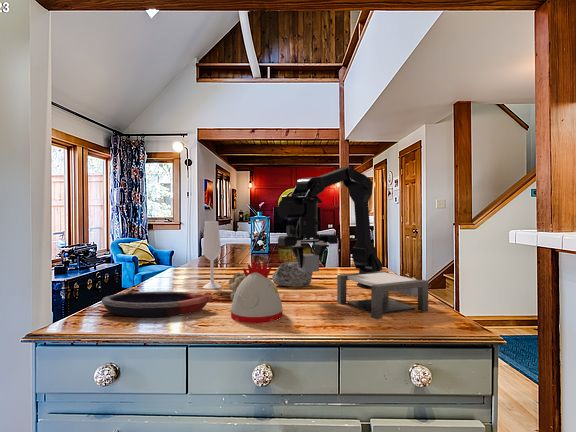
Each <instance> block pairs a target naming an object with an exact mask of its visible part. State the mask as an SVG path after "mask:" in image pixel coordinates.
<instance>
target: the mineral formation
mask: <svg viewBox="0 0 576 432" xmlns="http://www.w3.org/2000/svg"><path fill="white" fill-rule="evenodd" d="M245 277H246V276H245V274H244V272H239V271H237V272H235V273H234V275H233V276H232V278H229V280H228V284H229V287H228V290H230V291H232V292H231V293H230V299H231V301H232V302H233V298H234V295H235V292H236V290H237V288H238V286H239V284H240V283H241V282H242V280H243V279H244V278H245Z"/></svg>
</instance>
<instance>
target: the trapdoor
mask: <svg viewBox="0 0 576 432" xmlns="http://www.w3.org/2000/svg"><path fill="white" fill-rule="evenodd" d="M347 279H349V280H348V281H353V282H356V283H357V284H358V283H362V284H365V285H368V286H371V285H379V284H388V283H398V282H407V281H416V280H417V279H415V278H411V277H406V276H401V275H398V274H393V273H390V272H389V273H385V272H383V273H373V274H362V275H351V276H347ZM393 291H394V292H396V293H400V294H403V295H407V296H410V297H416V296H418V288H410V289H401V290H393ZM393 291H392V292H393Z"/></svg>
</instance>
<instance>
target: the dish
mask: <svg viewBox="0 0 576 432" xmlns="http://www.w3.org/2000/svg"><path fill="white" fill-rule="evenodd" d="M212 301H213V296H212V295H211V294H204V293H199V292H189V291H133V290H128V291H126V292H124V293H117V294H112V295H108V296H105V297H103V298H102V299H101V303H102V304H103V306H104V309H105V310H107V311H108V312H109V313H110V314H115V315H118V316H124V317H125V316H126V317H134V318H135V317H137V318H139V317H140V318H158V317H159V318H163V317H176V316H182V315H183V316H184V315H187V314H192V313H195V312H198V311H200V310H202V309H203V308H205V307H206V305H207V304H208V302H209V303H211V302H212Z"/></svg>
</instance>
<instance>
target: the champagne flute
mask: <svg viewBox="0 0 576 432" xmlns="http://www.w3.org/2000/svg"><path fill="white" fill-rule="evenodd" d="M219 227H220V226H219V221H217V220H216V221H215V220H206V221H204V229H203V241H202V250H201V251H202V254H203V256H204V257H205V258H206V259H207V260H208V261H209V263H210V264H209V265H210V267H209V268H210V273H209V275H210V280H209V282H208V283H206V284H204V286H202V288H203V289H206V290H207V289H209V290H210V289H212V290H213V289H214V290H215V289H220V288H222V285H220V284H219V283H217V282H215V281H214V280H215V279H214V278H215V276H214V274H215V273H214V272H215V271H214V268H215V267H214V263H215V260H216V259H217V258H218V257H219V256H220V255H221V252H222V245H221V235H220V228H219Z"/></svg>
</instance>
